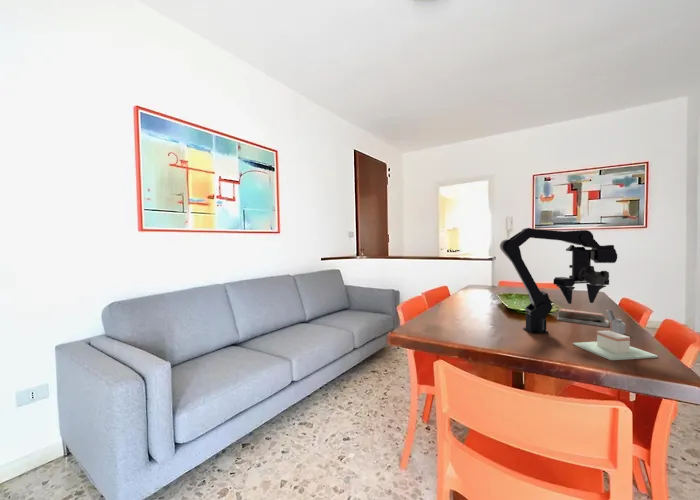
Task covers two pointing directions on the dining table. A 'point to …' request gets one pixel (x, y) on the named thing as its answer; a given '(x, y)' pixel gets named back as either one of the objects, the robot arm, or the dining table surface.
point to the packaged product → (582, 317)
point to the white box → (613, 341)
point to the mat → (611, 355)
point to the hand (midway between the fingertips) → (580, 303)
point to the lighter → (616, 323)
